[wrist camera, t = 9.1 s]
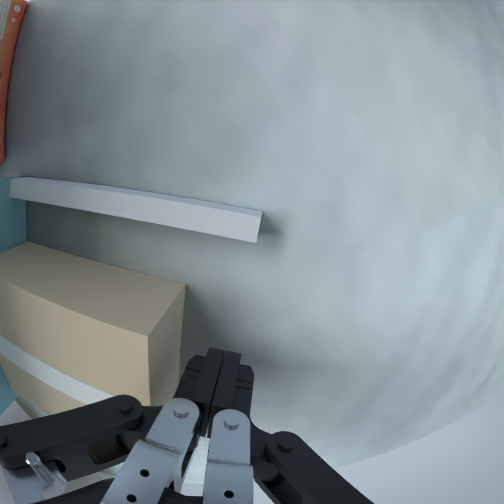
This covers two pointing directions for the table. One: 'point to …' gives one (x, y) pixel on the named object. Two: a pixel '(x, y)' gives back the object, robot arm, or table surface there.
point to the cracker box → (7, 53)
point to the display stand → (116, 204)
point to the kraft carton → (86, 330)
